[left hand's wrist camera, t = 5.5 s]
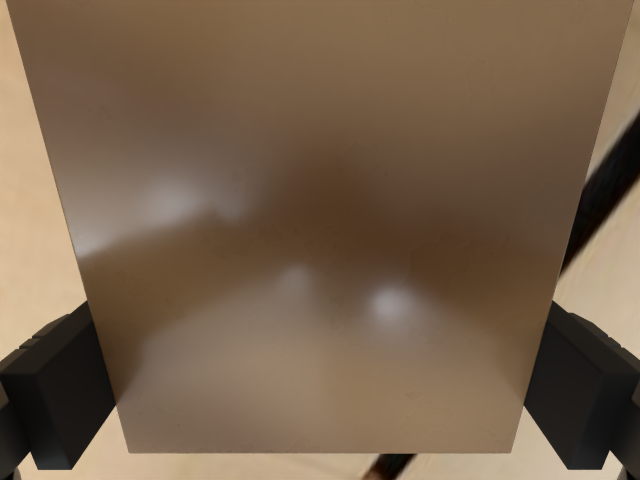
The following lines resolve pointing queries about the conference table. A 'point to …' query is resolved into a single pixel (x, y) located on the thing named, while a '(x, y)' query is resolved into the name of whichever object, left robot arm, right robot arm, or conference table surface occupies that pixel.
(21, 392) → the left robot arm
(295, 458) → the conference table surface
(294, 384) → the cabinet
